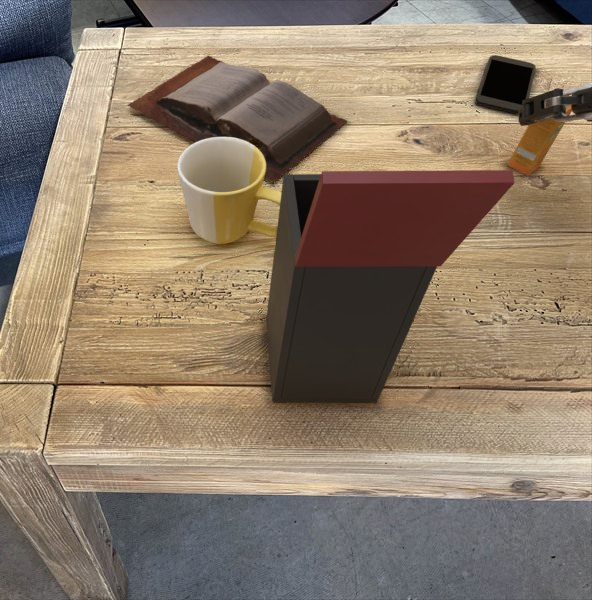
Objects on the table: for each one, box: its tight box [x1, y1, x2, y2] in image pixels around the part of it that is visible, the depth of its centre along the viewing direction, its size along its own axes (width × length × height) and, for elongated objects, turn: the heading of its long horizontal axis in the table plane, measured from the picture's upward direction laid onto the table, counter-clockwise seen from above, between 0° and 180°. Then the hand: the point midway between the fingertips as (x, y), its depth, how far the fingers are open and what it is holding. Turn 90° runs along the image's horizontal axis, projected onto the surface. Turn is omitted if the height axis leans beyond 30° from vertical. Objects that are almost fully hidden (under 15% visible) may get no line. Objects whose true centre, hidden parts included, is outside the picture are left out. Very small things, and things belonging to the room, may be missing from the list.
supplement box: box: [507, 106, 573, 177], centre depth 79 cm, size 3×3×10 cm
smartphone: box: [474, 54, 536, 115], centre depth 95 cm, size 7×15×1 cm, turn 154°
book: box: [127, 55, 348, 184], centre depth 91 cm, size 20×28×4 cm
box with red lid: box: [265, 173, 438, 404], centre depth 56 cm, size 11×11×21 cm
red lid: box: [295, 169, 516, 268], centre depth 39 cm, size 12×11×1 cm
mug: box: [176, 137, 282, 245], centre depth 72 cm, size 14×10×10 cm
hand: (555, 115), depth 75 cm, fingers open, 8 cm apart
